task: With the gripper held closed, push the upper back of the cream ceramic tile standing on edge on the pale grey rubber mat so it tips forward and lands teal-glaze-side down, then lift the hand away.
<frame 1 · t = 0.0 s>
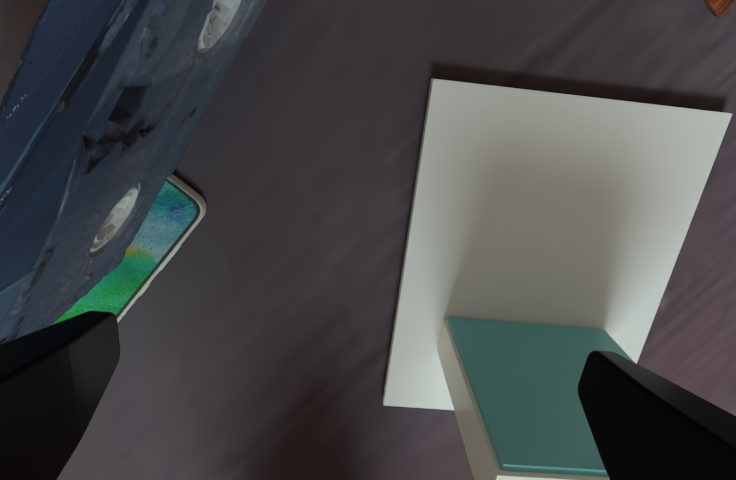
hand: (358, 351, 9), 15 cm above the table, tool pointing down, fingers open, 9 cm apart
tile: (520, 341, 26), point 1 cm above the table, touching mat
vhs cassette tape: (184, 94, 21), resting on smartphone
smartphone: (76, 261, 24), on the table
mat: (533, 271, 25), on the table
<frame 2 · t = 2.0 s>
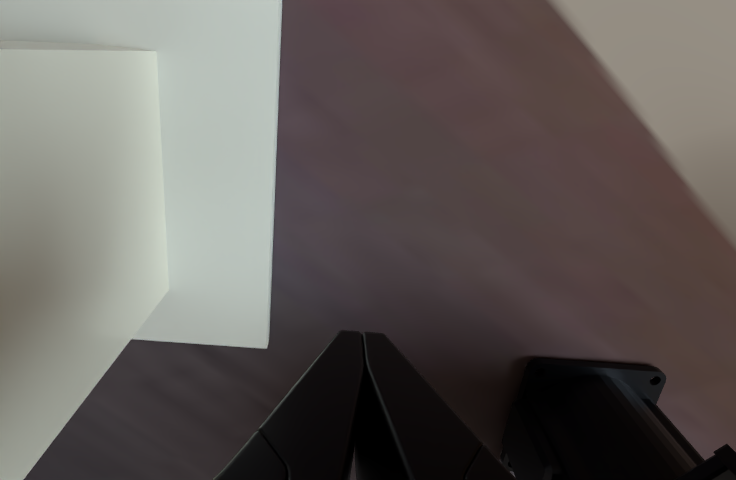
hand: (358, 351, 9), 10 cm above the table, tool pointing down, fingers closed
tile: (135, 179, 17), point 1 cm above the table, touching mat
mat: (31, 164, 17), on the table
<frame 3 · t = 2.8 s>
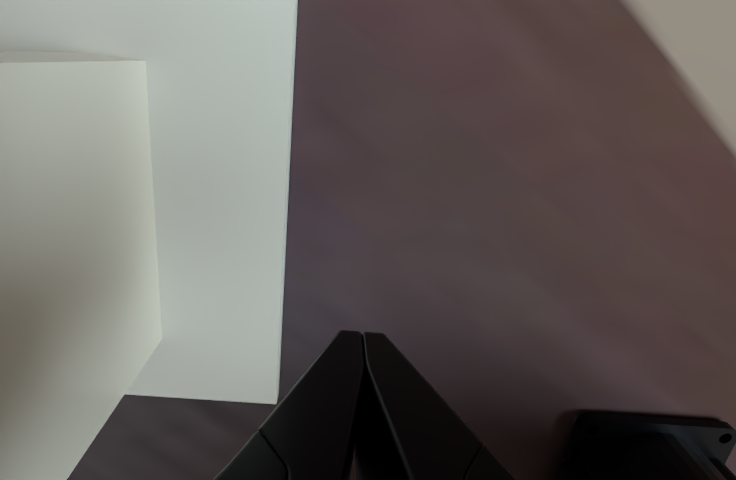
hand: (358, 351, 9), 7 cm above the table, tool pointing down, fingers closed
tile: (121, 212, 14), point 1 cm above the table, touching mat
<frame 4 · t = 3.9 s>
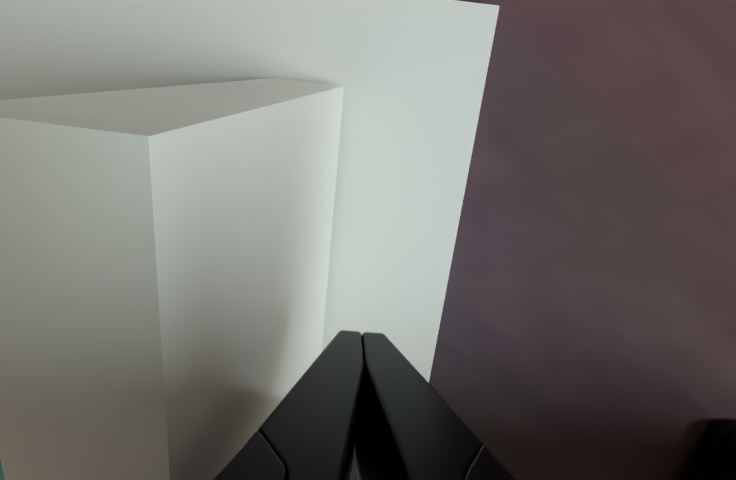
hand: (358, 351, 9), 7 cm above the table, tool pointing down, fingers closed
tile: (300, 231, 15), point 1 cm above the table, tilted 8°, touching mat
mat: (179, 212, 15), on the table
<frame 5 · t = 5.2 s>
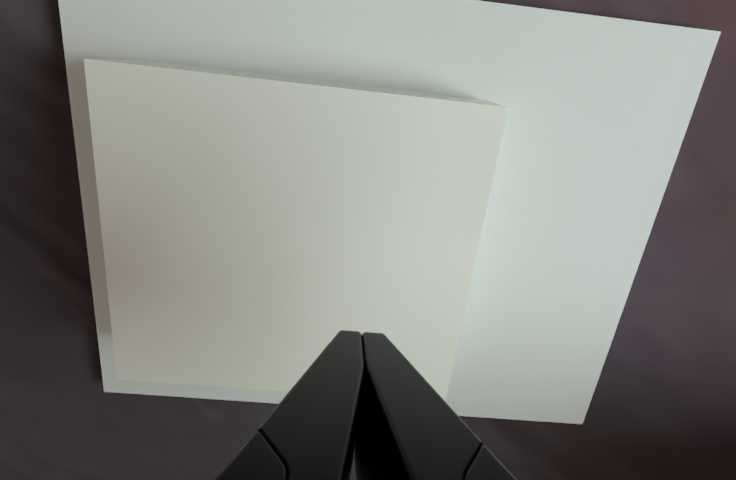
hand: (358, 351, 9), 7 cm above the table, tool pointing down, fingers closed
tile: (464, 258, 14), point 2 cm above the table, tilted 90°, touching mat
mat: (372, 228, 15), on the table
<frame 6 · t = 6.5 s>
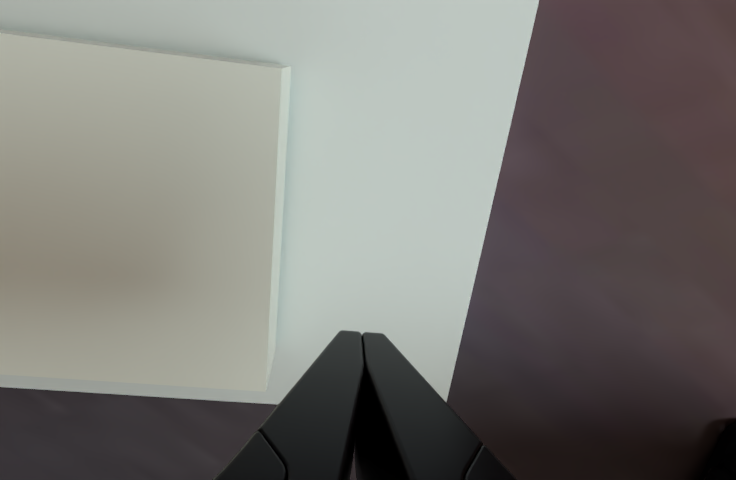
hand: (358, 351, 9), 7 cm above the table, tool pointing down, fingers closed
tile: (277, 238, 13), point 2 cm above the table, tilted 90°, touching mat
mat: (197, 207, 14), on the table
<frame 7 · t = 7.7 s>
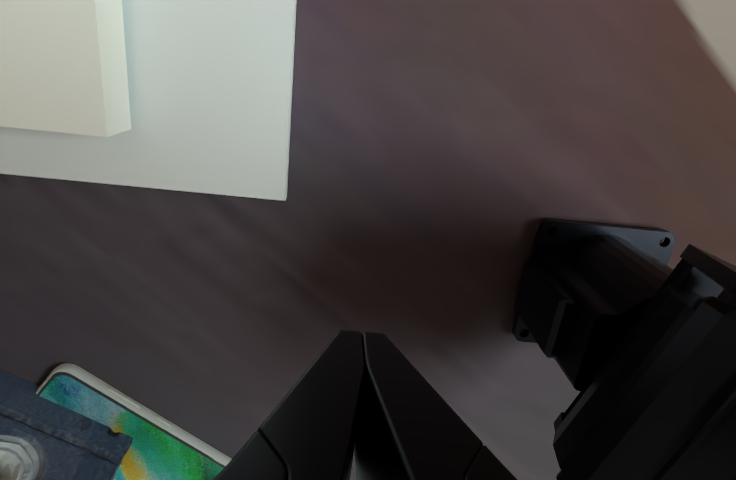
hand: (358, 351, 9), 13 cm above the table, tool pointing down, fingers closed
tile: (109, 3, 16), point 2 cm above the table, tilted 90°, touching mat
smartphone: (155, 460, 27), on the table
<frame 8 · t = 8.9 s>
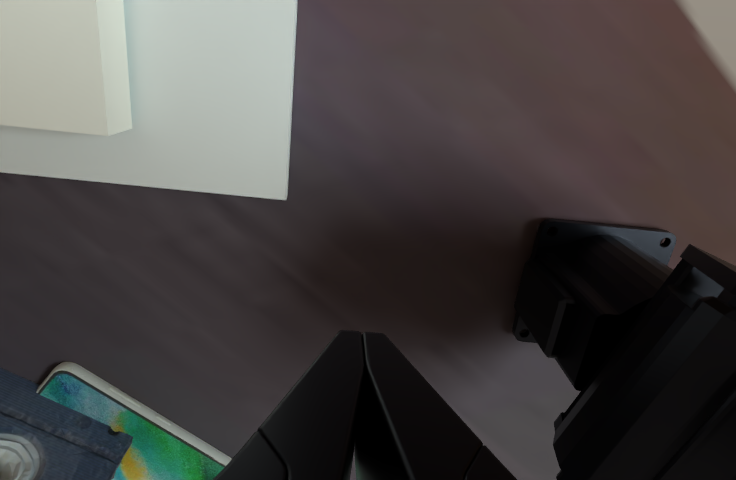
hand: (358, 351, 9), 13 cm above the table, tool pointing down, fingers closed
tile: (110, 2, 16), point 2 cm above the table, tilted 90°, touching mat
smartphone: (155, 459, 27), on the table
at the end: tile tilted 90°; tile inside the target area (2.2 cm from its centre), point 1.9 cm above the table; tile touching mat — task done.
